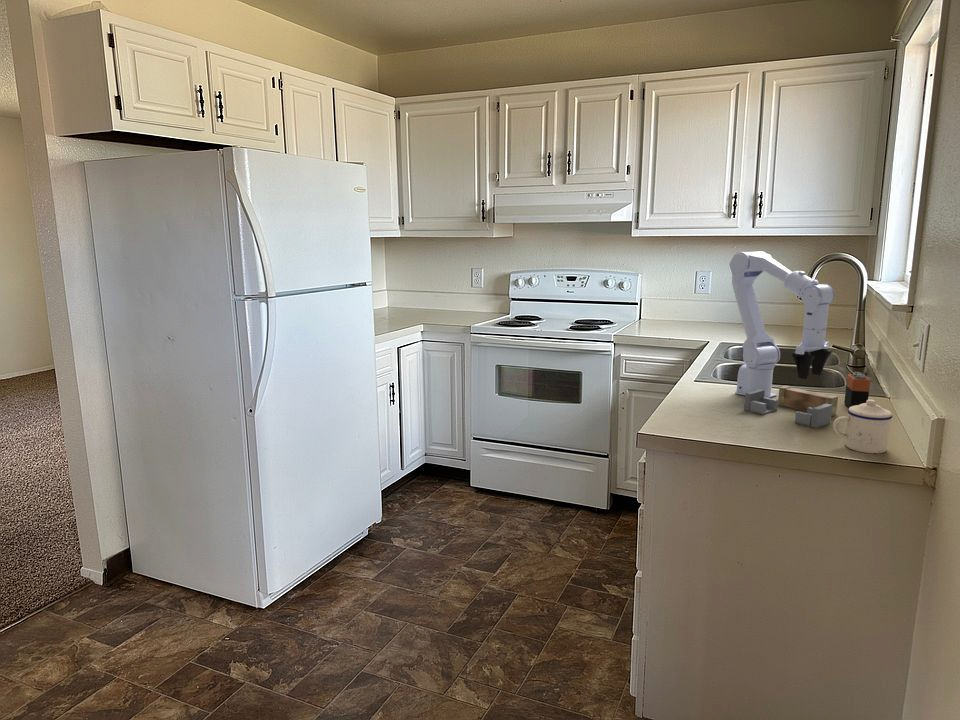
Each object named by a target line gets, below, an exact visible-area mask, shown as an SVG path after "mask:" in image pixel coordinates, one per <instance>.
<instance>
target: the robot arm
mask: <svg viewBox="0 0 960 720" xmlns="http://www.w3.org/2000/svg"><path fill="white" fill-rule="evenodd" d="M728 266H729V268H730V271H731V285H732V289H733V293H734V296H735V300H736V303H737V304H736V305H737V306H738V311H739V314H740V317H741V320H742V324H743V327H744V333H745V336H746V340H745V341H744V342H743V344H742V352H743V354H742V359H743V362H744V364H742V365H741V366H739V369H738V373H737V379H736V380H737V381H736V391H734V393H735V394H737V395H742V396H745V393H747V392H751V391H754V390H758V389H762V390H765V392H764V397H767V398H773V397H776V396H777V397H778V394H777V393H774V392H772V387H773V374H774V368H775V367H776V364H777V363H778V362H779V361H780V359H781V350H780V348H779V347H778V345H777V344H776V343H775V340H774V338H773V337H771V336H770V335H769V334H767V331H766V328H765V324H764V321H763V318H762V313H761V310H760V308H759V304H758V301H757V296H756V293H755V290H754V286H753V285H754V283H755V281H756V280H757V279H758V278H759V277H760V276H761V275H762V274H763V273H764V272H765V273H767V274H769V275H770V276H773V278H776V279H778V280H780V281H782V282H783V285H784V288H785V289H786V290H788V291H790V293H792V294H795V295H796V296H797V297H798V298H799V297H800V298H801V299H800V300H801V302H802V304H803V310H804V317H803V328H802V335H801V337H802V338H801V343H800V344H799V345H798V346H797V345H796V347H795V351H792V352H791V353H792V354H791V357H792V358H793V360H794V362H795V365H796V370H797V376H798V378H799V379H803V380H807V379H808V377H809V374H810V369H811V373H812V375H817V376H821V374H822V372H823V370H824V367H825V364H826V362H827V360H828V359H829V357H830V356H831V355H832V353H833V351H832V349H829V347H830V341H826V337H827V336H826V334H827V326H828V316H829V309H830V308H829V306H830V305H831V304H832V303H833V302H834V300H835V296H836V295H835V290H834V289H833V287H832V286H831V285H830V284H827V283H822V284H820V283H819V280H817V279H813V278H811V277H810V276H808V275H807V274H806V272H805V271H803V270H793V271H792V270H790V269H788V268H787V267H786V266H784V265H782V264H781V263H780V262H778V261H777V260H776V259H775V258H773V257H772V255H771V254H769V253H766V252H765V251H762V250H758V251H738V252H736V253H734V254H733V256H732V258H731V260H730V261H729V265H728Z"/></svg>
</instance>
